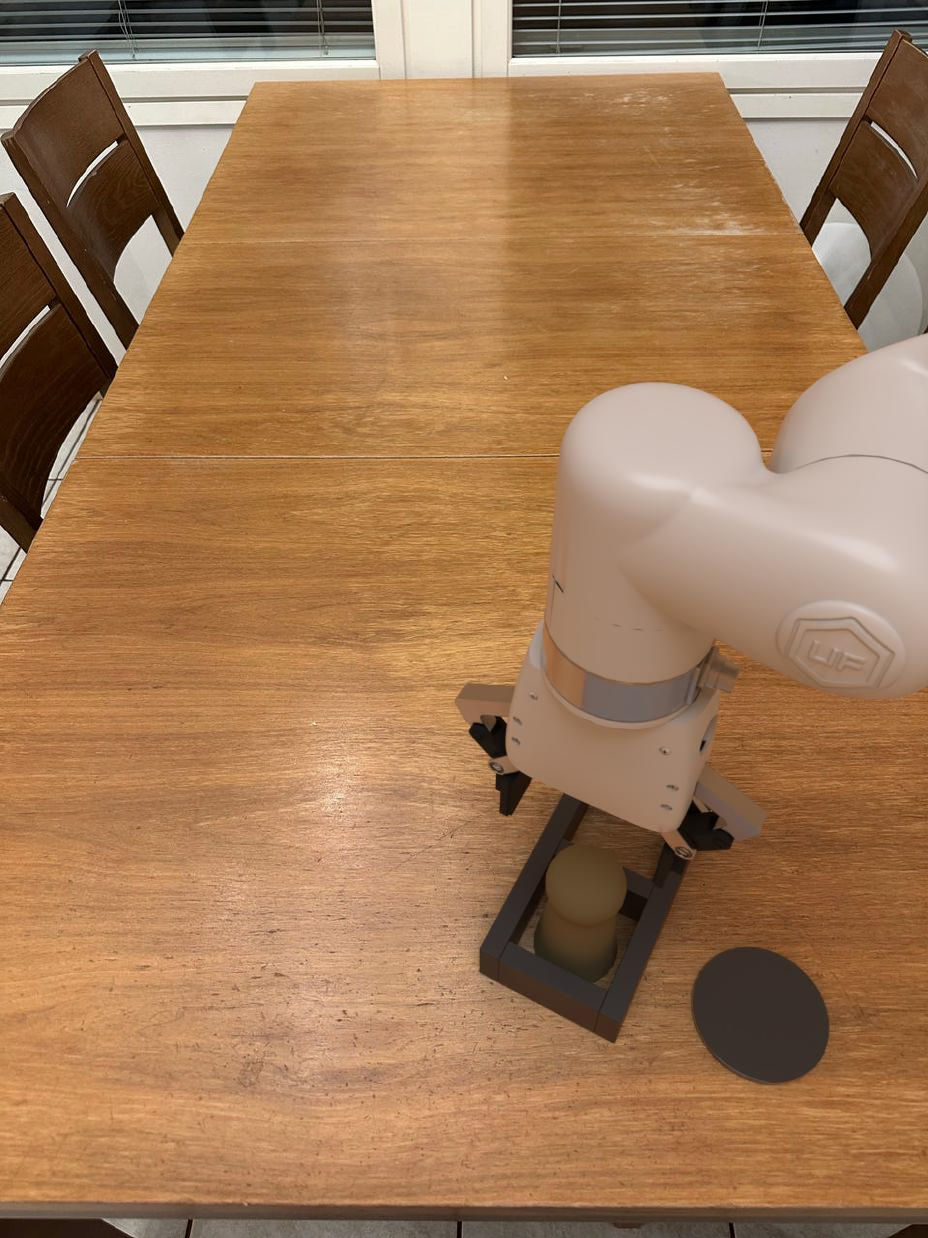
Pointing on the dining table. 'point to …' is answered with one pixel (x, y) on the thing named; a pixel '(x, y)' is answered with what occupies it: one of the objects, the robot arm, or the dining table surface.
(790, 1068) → the coaster
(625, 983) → the holder
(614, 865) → the cork
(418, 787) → the dining table surface
